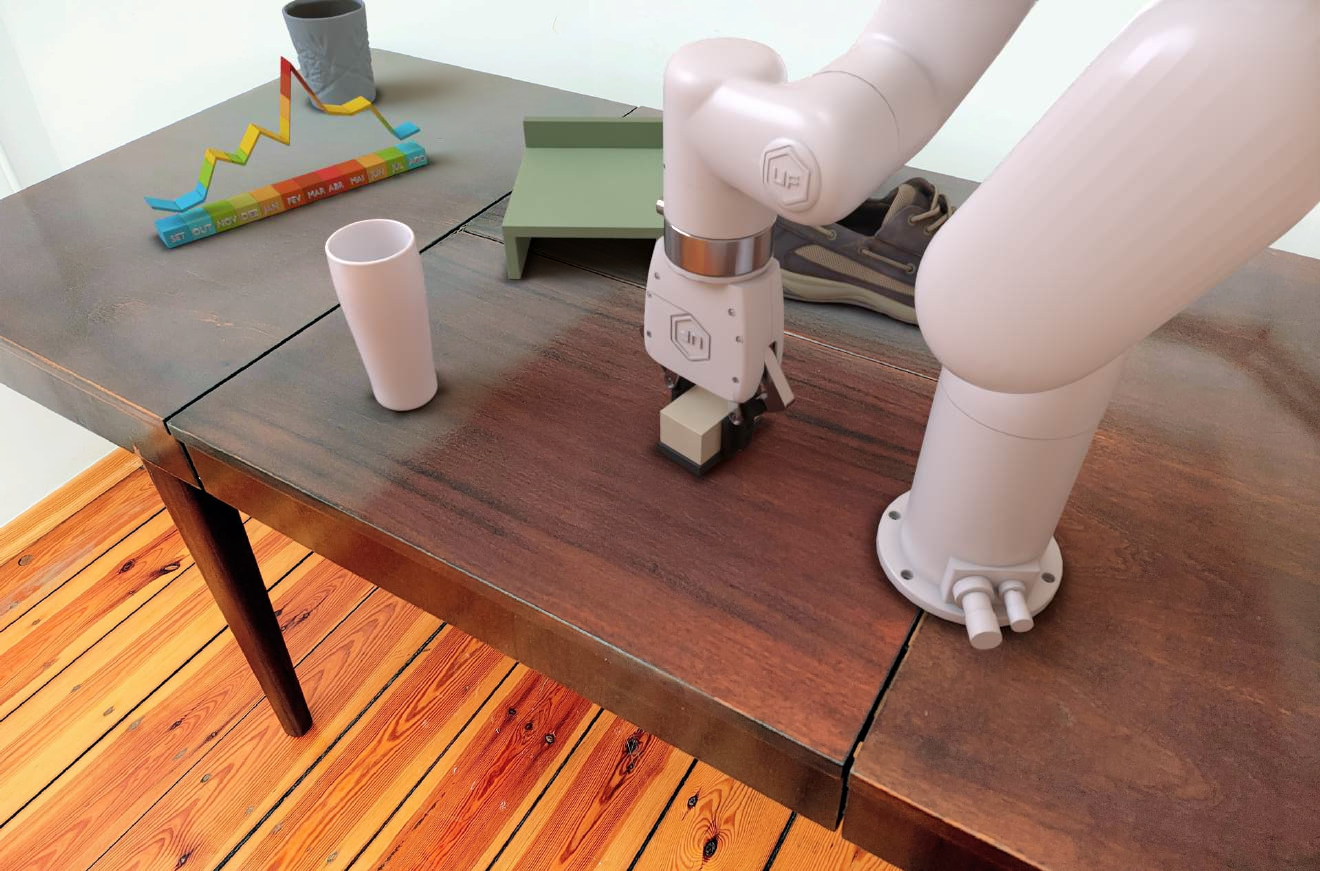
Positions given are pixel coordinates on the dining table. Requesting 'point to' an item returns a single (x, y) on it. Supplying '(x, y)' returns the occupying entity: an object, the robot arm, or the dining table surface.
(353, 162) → the chart
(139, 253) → the dining table surface
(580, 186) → the shelf
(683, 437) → the tan two-tone block
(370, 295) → the drinking glass
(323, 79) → the gray embossed pot
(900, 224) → the boat shoe
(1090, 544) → the dining table surface
